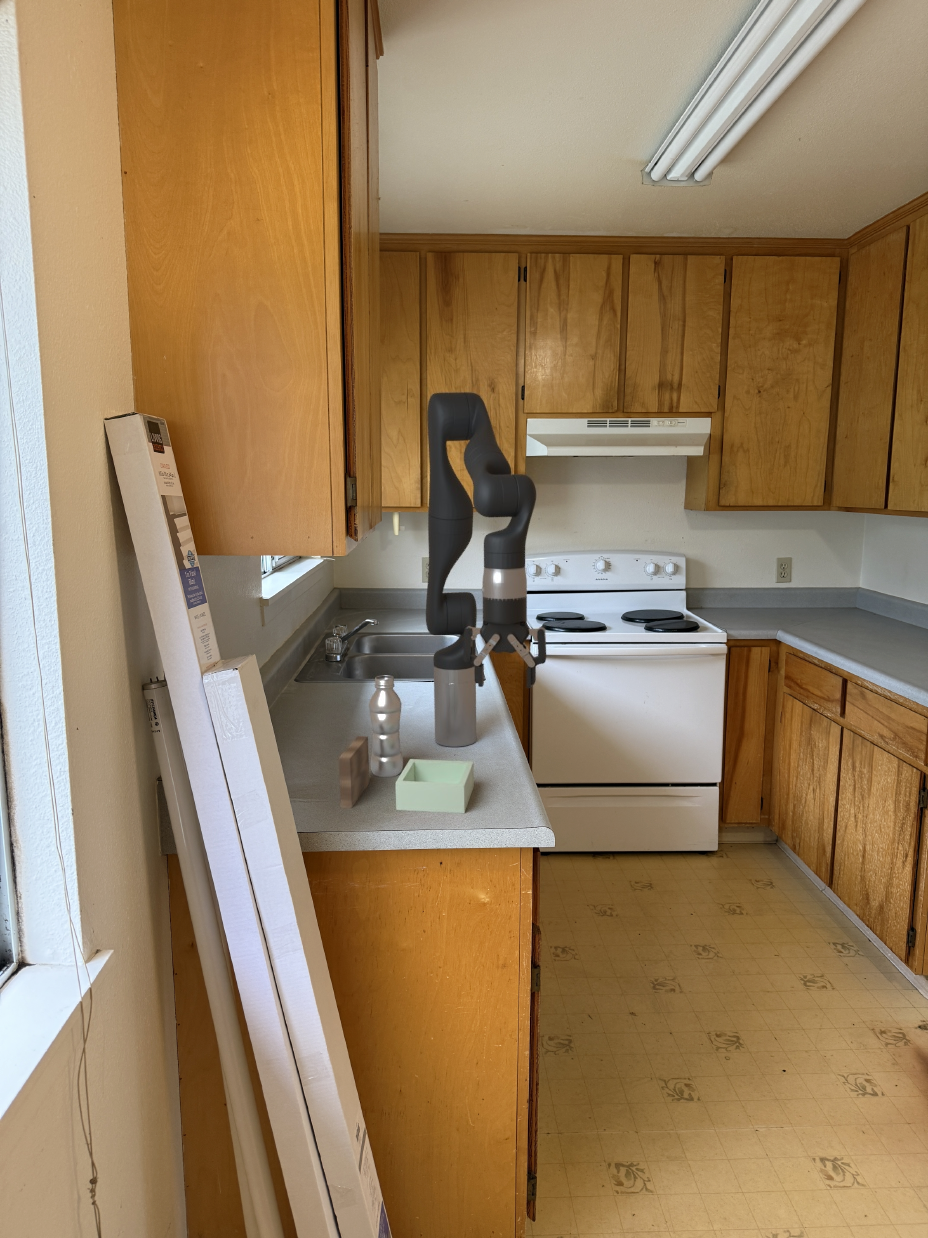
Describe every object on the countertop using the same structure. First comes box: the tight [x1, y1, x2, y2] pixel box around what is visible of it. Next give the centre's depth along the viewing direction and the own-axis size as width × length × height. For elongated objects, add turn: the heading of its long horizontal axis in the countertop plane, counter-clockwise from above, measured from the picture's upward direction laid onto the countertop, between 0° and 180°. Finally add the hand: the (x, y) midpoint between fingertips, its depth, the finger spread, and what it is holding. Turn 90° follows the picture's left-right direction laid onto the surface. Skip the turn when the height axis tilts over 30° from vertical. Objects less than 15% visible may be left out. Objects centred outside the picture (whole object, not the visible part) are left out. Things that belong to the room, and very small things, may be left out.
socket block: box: [395, 758, 475, 814], centre depth 147 cm, size 12×12×5 cm
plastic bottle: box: [368, 674, 404, 778], centre depth 159 cm, size 6×7×20 cm
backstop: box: [338, 735, 370, 809], centre depth 147 cm, size 12×24×10 cm, turn 82°
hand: (505, 686), depth 142 cm, fingers open, 8 cm apart
